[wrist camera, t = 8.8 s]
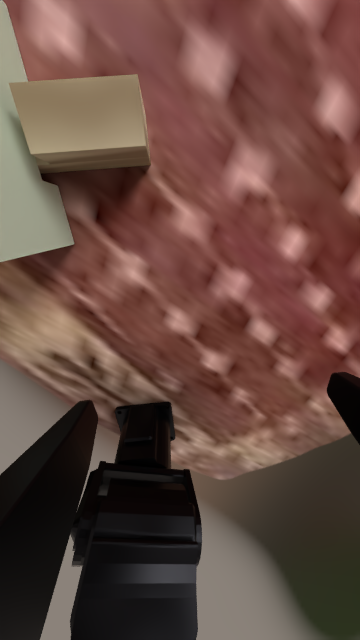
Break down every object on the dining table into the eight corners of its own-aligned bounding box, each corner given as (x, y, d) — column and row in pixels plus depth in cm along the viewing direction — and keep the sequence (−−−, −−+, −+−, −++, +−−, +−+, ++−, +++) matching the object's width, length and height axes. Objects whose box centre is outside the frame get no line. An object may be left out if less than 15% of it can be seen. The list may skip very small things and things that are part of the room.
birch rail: (150, 165, 14) (145, 145, 11) (-85, 183, 14) (-174, 169, 10) (145, 115, 13) (137, 74, 9) (-112, 133, 13) (-222, 98, 9)
